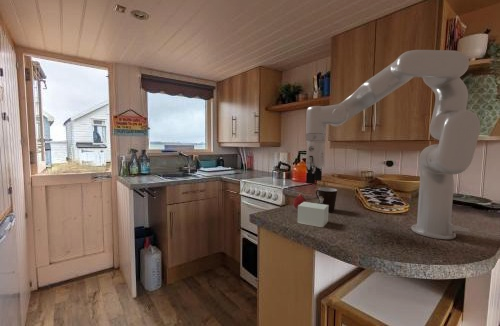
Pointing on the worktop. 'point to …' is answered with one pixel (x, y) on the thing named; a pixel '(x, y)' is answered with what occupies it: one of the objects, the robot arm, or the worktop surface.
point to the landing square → (310, 224)
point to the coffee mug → (327, 197)
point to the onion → (298, 200)
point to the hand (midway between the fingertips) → (314, 181)
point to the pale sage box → (313, 213)
